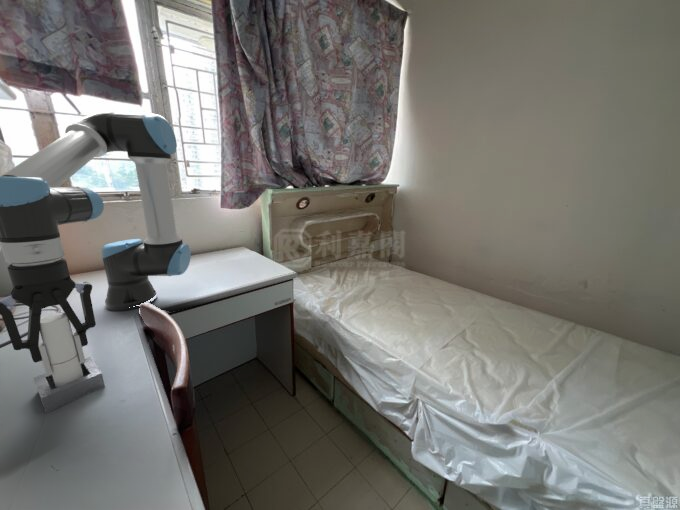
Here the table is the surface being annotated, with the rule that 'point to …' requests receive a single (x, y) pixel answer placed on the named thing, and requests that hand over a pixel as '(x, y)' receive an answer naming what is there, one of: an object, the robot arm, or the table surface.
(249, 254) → the table surface
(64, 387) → the gray square frame
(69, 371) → the tube
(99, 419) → the table surface
